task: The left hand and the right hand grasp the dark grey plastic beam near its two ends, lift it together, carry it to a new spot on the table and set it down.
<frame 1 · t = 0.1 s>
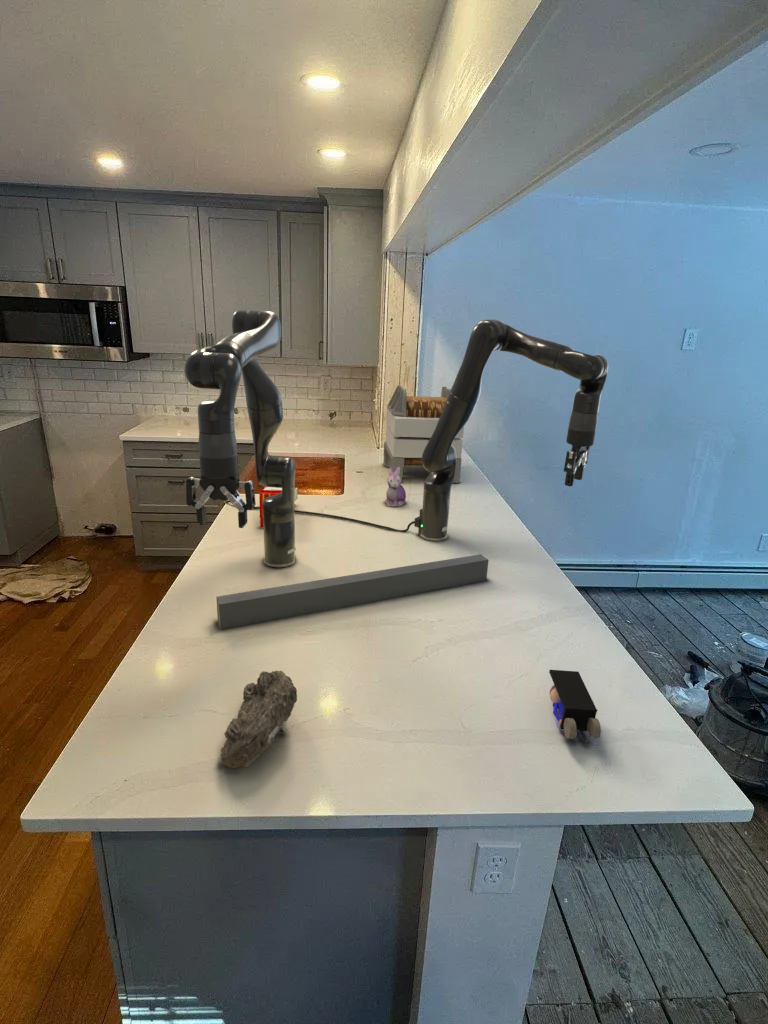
left hand: (222, 525, 122), 29 cm above the counter, tool pointing down, fingers open, 8 cm apart
right hand: (573, 482, 165), 29 cm above the counter, tool pointing down, fingers open, 8 cm apart
toy: (278, 515, 212), on the counter
fossil: (263, 730, 105), on the counter
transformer: (419, 473, 275), on the counter
figurine character: (569, 723, 111), on the counter
figurine: (395, 503, 231), on the counter
beam: (364, 598, 154), on the counter
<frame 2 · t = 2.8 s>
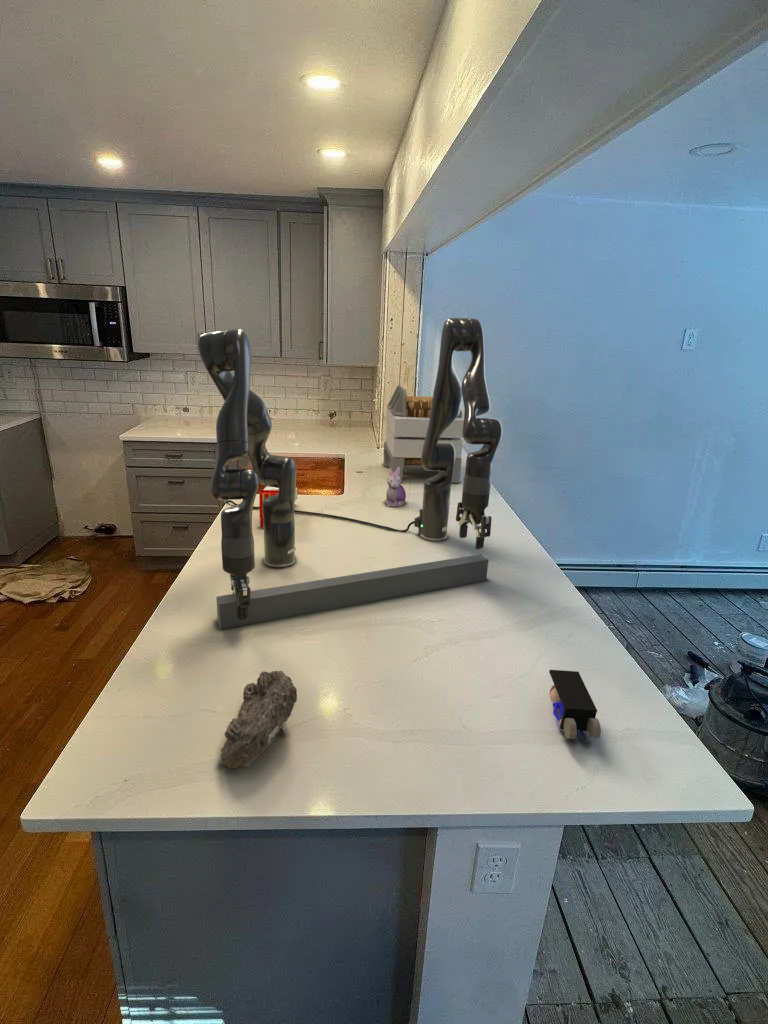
left hand: (241, 613, 140), 2 cm above the counter, tool pointing down, fingers closed on beam, 4 cm apart
right hand: (470, 542, 164), 12 cm above the counter, tool pointing down, fingers open, 8 cm apart
beam: (364, 598, 154), on the counter, touching left hand
everything else where it was.
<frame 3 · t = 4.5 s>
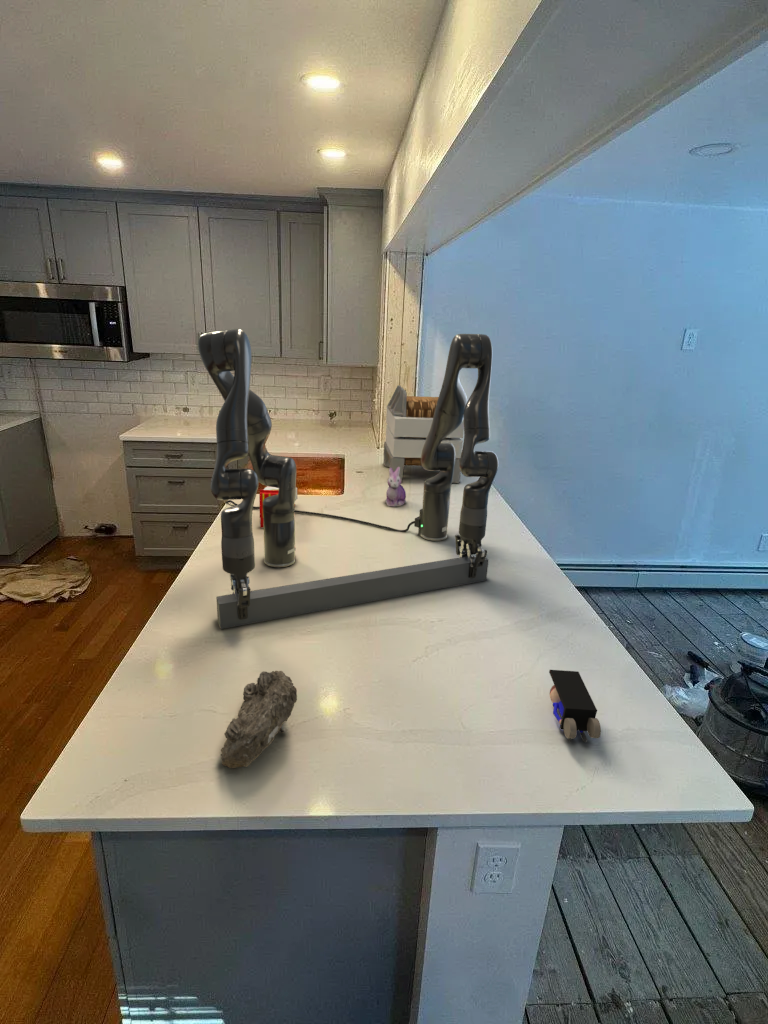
left hand: (241, 613, 140), 2 cm above the counter, tool pointing down, fingers closed on beam, 4 cm apart
right hand: (467, 573, 167), 2 cm above the counter, tool pointing down, fingers closed on beam, 4 cm apart
beam: (364, 598, 154), on the counter, touching right hand, left hand
everything else where it was.
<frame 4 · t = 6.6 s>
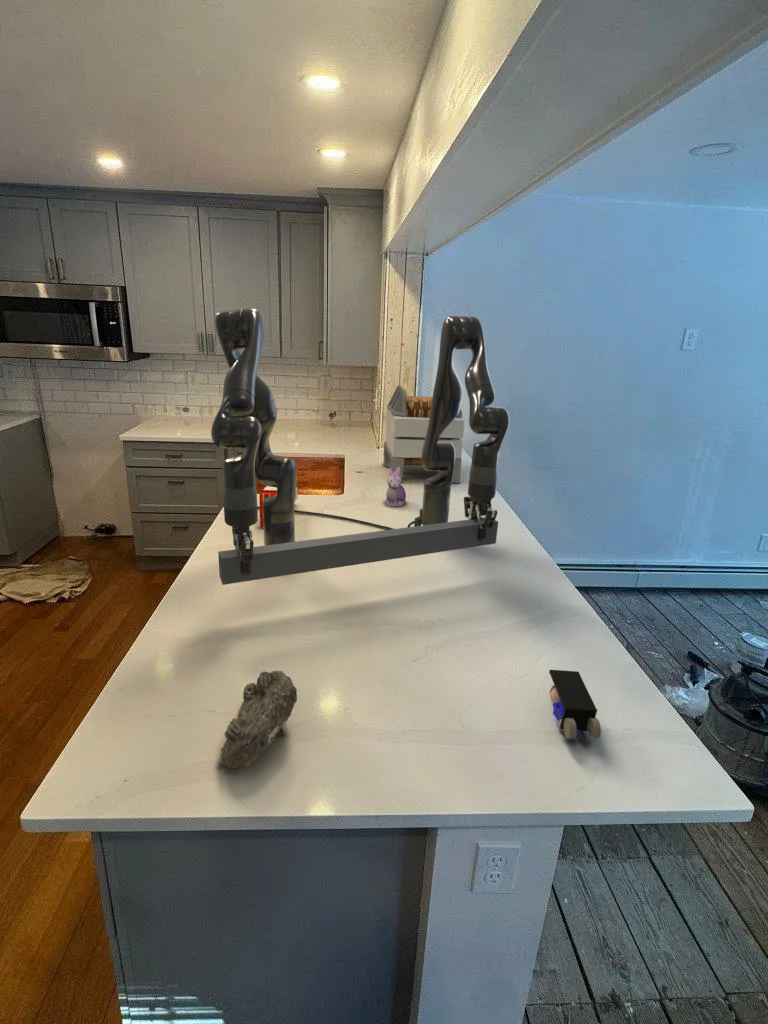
left hand: (244, 569, 136), 14 cm above the counter, tool pointing down, fingers closed on beam, 4 cm apart
right hand: (476, 536, 162), 14 cm above the counter, tool pointing down, fingers closed on beam, 4 cm apart
beam: (370, 558, 150), point 12 cm above the counter, touching right hand, left hand
everything else where it was.
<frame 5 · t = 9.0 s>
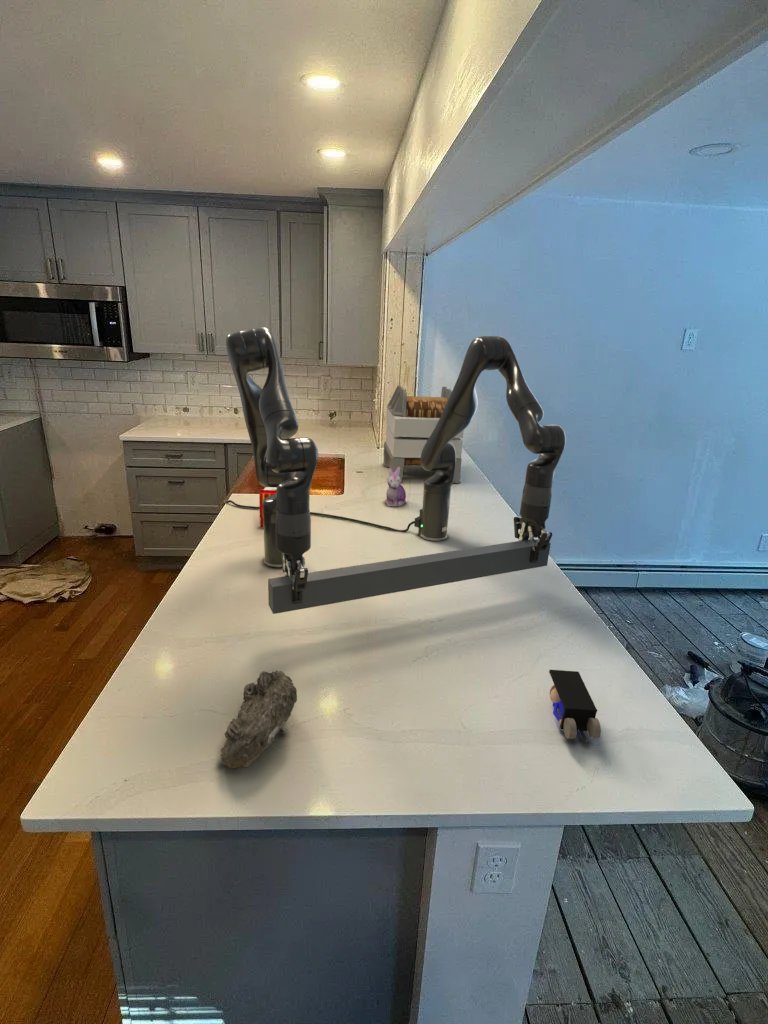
left hand: (294, 597, 129), 12 cm above the counter, tool pointing down, fingers closed on beam, 4 cm apart
right hand: (527, 558, 156), 12 cm above the counter, tool pointing down, fingers closed on beam, 4 cm apart
beam: (421, 583, 143), point 10 cm above the counter, touching right hand, left hand
everything else where it was.
when the left hand's fingers open (3 cm above the counter, at t = 10.8 s): beam stays where it is, on the counter.
when the right hand's fingers open (3 cm above the counter, at t = 10.8 s): beam stays where it is, on the counter.
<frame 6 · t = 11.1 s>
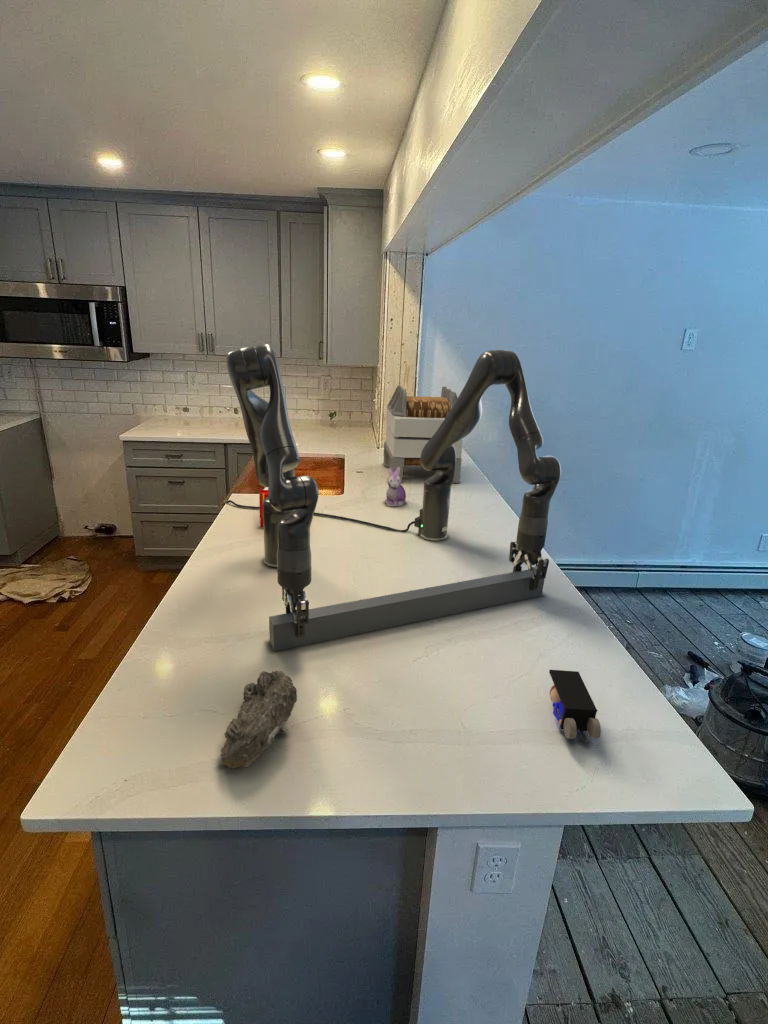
left hand: (295, 628, 132), 4 cm above the counter, tool pointing down, fingers open, 6 cm apart
right hand: (524, 584, 158), 4 cm above the counter, tool pointing down, fingers open, 6 cm apart
beam: (418, 616, 147), on the counter
everything else where it was.
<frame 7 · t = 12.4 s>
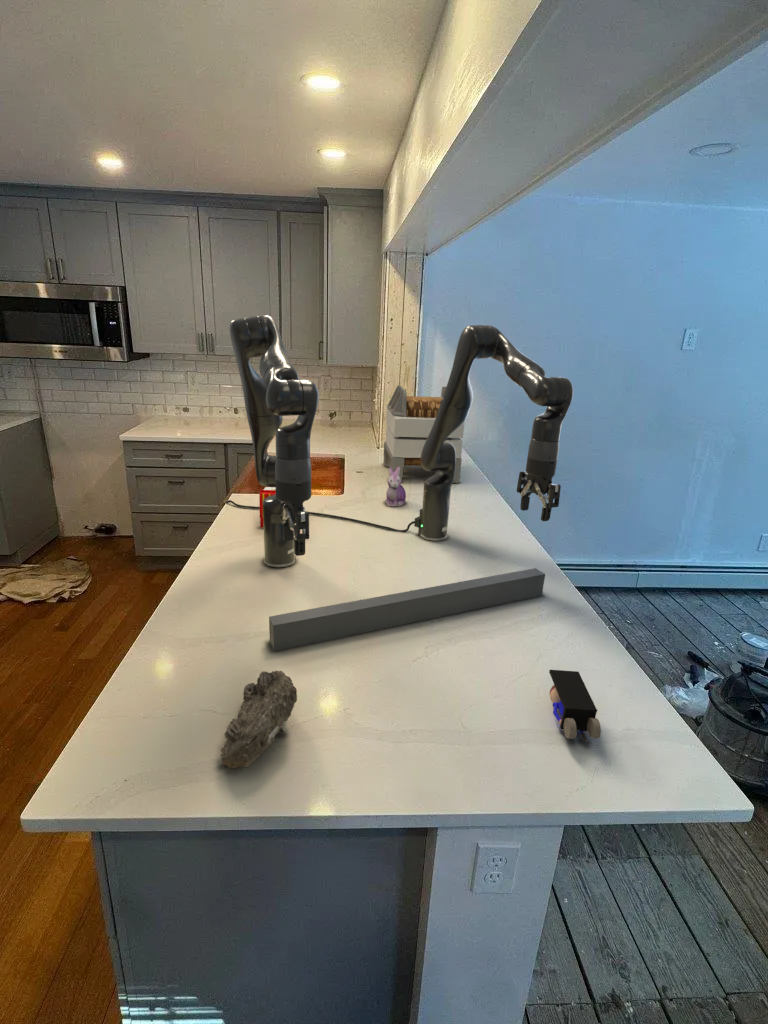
left hand: (294, 547, 125), 24 cm above the counter, tool pointing down, fingers open, 8 cm apart
right hand: (534, 515, 151), 24 cm above the counter, tool pointing down, fingers open, 8 cm apart
nothing on the counter moved.
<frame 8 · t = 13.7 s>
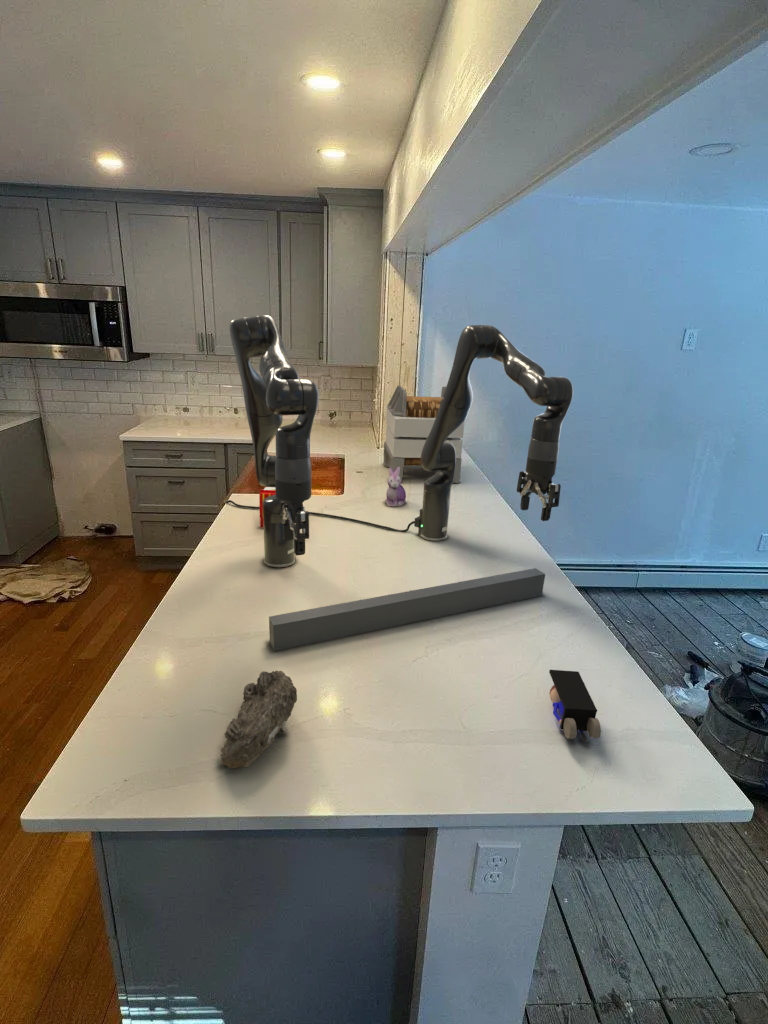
left hand: (294, 546, 125), 24 cm above the counter, tool pointing down, fingers open, 8 cm apart
right hand: (534, 515, 151), 24 cm above the counter, tool pointing down, fingers open, 8 cm apart
nothing on the counter moved.
at the end: beam inside the target area (0.4 cm from its centre), on the counter; beam tilted 0°; beam never tilted more than 1° during the clip; both hands held the beam at the same time; the left hand is holding nothing; the right hand is holding nothing; beam at rest at the end (0.0 cm/s) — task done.
